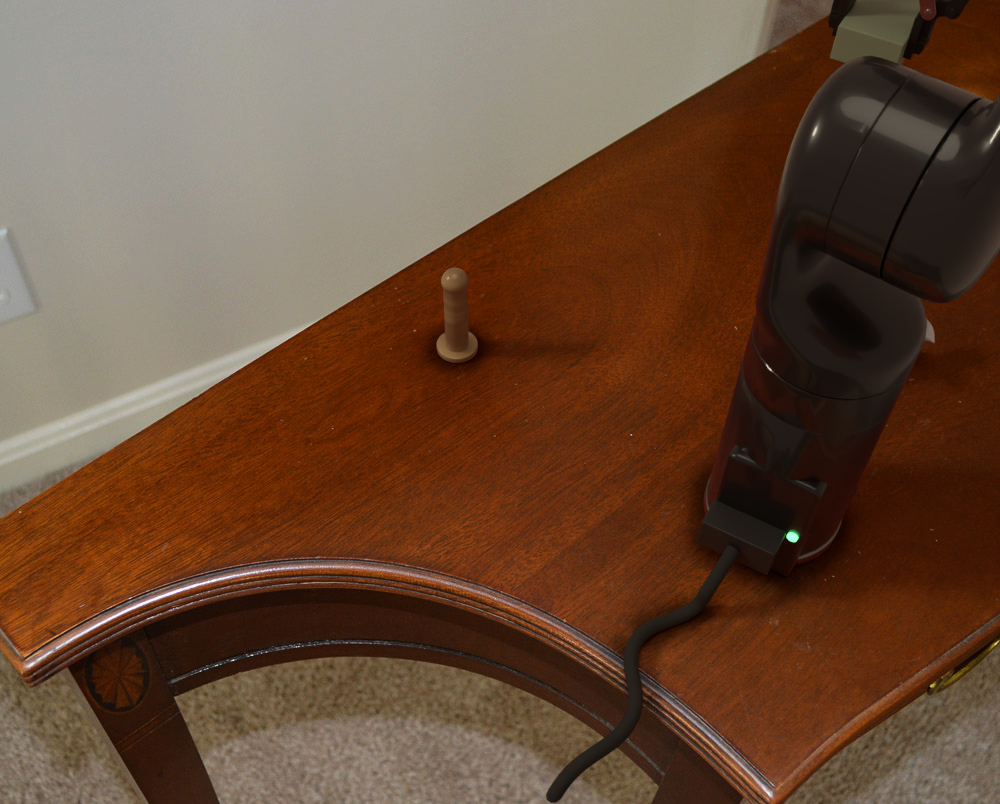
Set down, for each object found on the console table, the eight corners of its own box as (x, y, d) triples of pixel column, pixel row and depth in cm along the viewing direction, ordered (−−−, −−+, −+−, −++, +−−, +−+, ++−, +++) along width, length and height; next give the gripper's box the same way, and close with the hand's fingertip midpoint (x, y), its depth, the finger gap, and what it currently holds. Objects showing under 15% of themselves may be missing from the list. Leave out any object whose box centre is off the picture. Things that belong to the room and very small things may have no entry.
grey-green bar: (895, 79, 90) (906, 46, 87) (826, 57, 92) (835, 24, 89) (956, -16, 98) (968, -49, 96) (891, -34, 100) (901, -67, 97)
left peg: (464, 369, 84) (461, 293, 77) (429, 353, 85) (423, 276, 78) (485, 342, 85) (484, 266, 79) (450, 327, 86) (447, 250, 80)
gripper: (826, -179, 78) (776, 40, 91) (1029, -128, 73) (944, 93, 87) (863, -218, 81) (810, -3, 95) (1057, -172, 77) (972, 46, 91)
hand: (874, 42), depth 91 cm, fingers closed on grey-green bar, 5 cm apart
